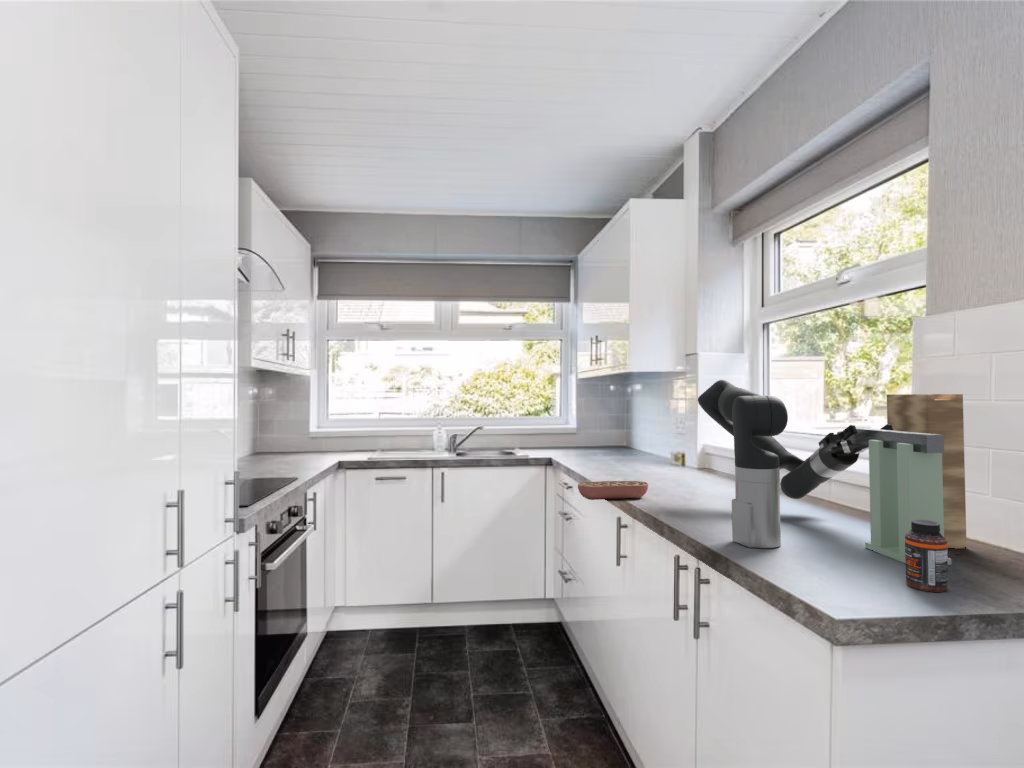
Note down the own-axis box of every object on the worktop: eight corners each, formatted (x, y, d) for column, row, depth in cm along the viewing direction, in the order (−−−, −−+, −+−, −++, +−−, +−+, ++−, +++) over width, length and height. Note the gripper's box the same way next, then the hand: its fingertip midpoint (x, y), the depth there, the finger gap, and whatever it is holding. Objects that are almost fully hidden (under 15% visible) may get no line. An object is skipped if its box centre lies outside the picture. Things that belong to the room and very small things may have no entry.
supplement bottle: (897, 582, 99) (895, 518, 99) (928, 580, 100) (926, 517, 100) (924, 594, 93) (923, 526, 94) (957, 592, 94) (956, 525, 94)
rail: (850, 443, 129) (849, 428, 129) (864, 443, 129) (864, 427, 129) (927, 453, 107) (926, 435, 107) (944, 453, 107) (943, 434, 107)
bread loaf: (581, 502, 175) (580, 486, 175) (575, 496, 185) (574, 481, 185) (652, 500, 177) (652, 485, 177) (642, 495, 187) (642, 480, 187)
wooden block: (889, 535, 131) (886, 394, 132) (921, 534, 132) (918, 394, 132) (931, 549, 119) (927, 394, 120) (966, 548, 120) (962, 394, 120)
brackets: (865, 547, 121) (863, 439, 121) (900, 546, 121) (898, 439, 122) (912, 566, 108) (909, 445, 108) (951, 564, 109) (948, 444, 109)
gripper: (800, 444, 139) (836, 413, 125) (855, 443, 140) (896, 412, 126) (810, 472, 135) (848, 444, 122) (866, 471, 136) (910, 443, 122)
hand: (873, 428), depth 124 cm, fingers open, 8 cm apart
